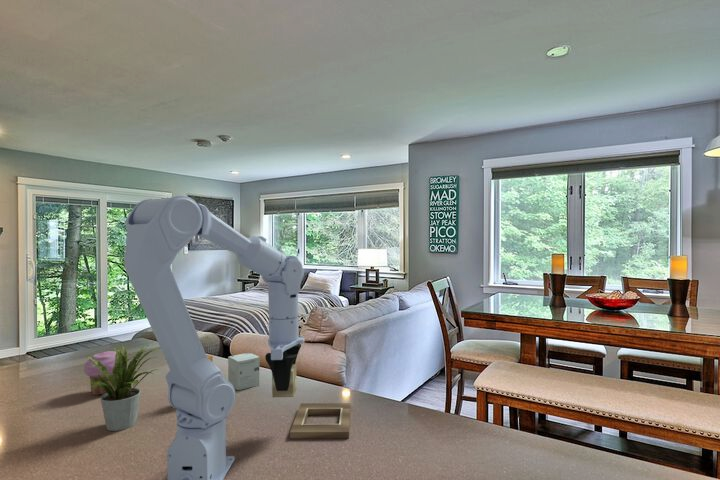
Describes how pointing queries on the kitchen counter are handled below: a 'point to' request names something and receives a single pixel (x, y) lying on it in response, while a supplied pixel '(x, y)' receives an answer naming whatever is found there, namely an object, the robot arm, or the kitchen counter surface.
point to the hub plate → (321, 430)
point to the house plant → (121, 390)
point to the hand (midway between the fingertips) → (284, 385)
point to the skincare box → (243, 370)
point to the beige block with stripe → (292, 385)
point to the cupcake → (91, 371)
